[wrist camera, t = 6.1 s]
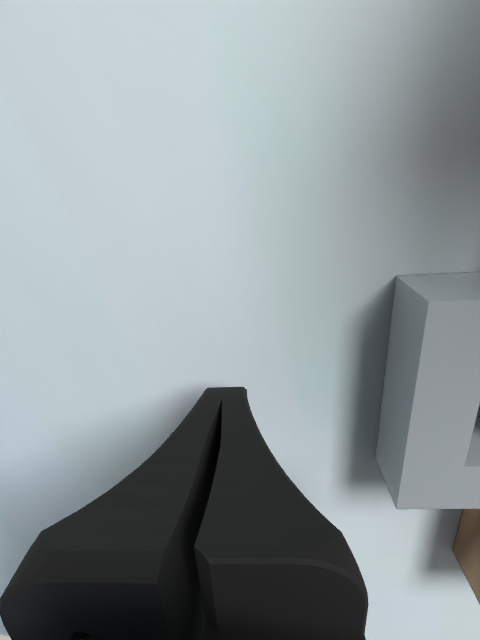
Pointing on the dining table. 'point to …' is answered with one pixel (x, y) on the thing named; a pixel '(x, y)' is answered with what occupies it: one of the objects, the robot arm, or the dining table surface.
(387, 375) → the clip
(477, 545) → the rail
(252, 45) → the dining table surface
